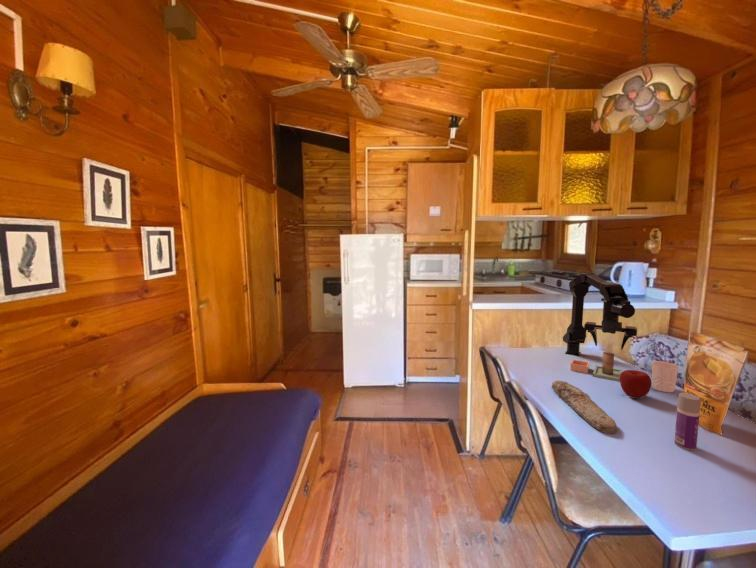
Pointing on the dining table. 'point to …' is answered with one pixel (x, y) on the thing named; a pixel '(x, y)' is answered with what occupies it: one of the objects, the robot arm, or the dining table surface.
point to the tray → (615, 375)
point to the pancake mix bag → (712, 376)
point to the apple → (635, 383)
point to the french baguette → (585, 407)
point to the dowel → (608, 363)
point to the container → (687, 421)
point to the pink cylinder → (664, 376)
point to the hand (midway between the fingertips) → (608, 347)
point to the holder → (580, 366)
